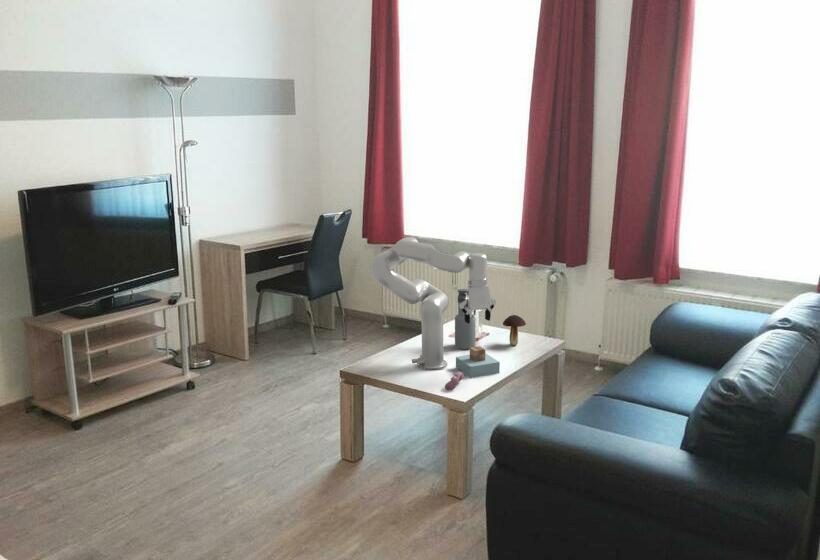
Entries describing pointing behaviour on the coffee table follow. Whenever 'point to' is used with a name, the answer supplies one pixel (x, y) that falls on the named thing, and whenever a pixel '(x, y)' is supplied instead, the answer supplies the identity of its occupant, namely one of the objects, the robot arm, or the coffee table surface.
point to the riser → (477, 366)
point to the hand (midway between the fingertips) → (477, 321)
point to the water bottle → (464, 325)
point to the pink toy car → (454, 380)
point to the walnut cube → (477, 353)
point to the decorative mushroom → (514, 327)
